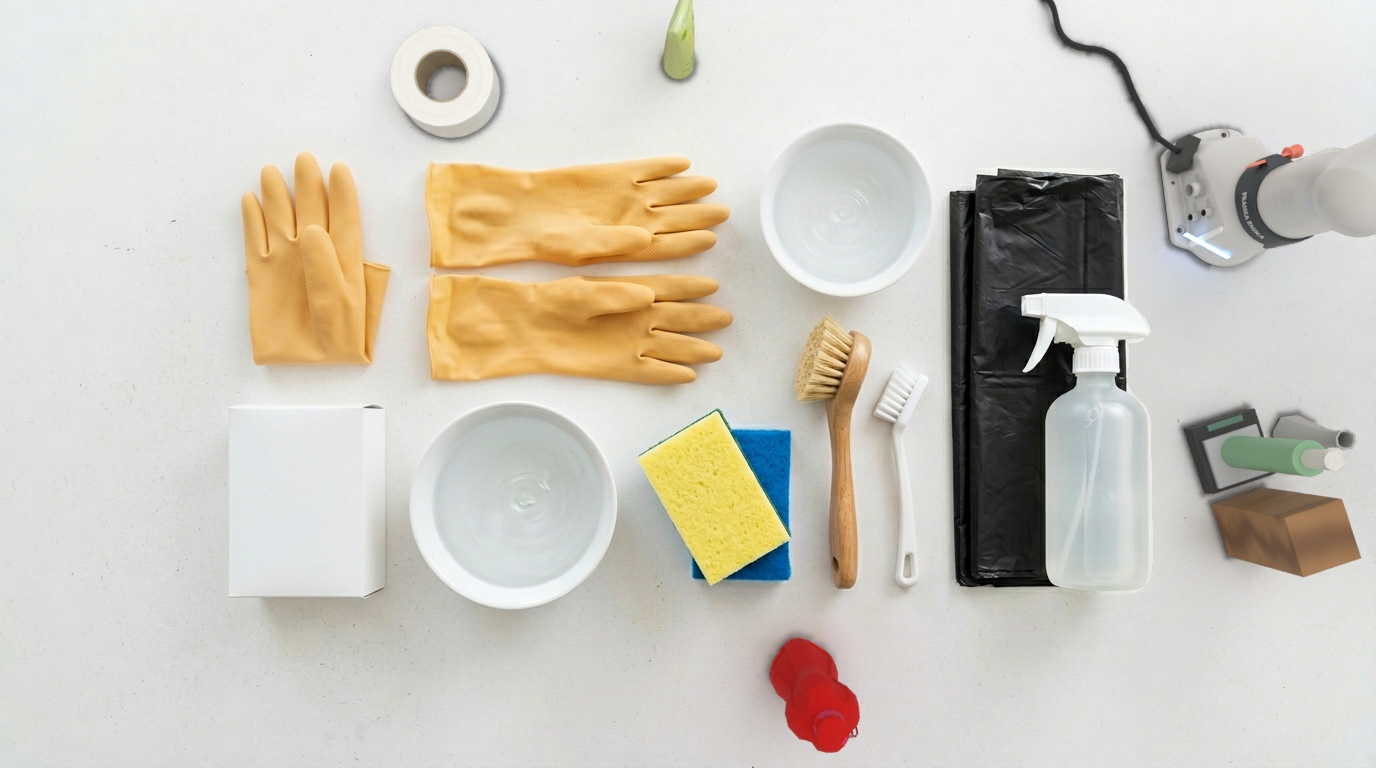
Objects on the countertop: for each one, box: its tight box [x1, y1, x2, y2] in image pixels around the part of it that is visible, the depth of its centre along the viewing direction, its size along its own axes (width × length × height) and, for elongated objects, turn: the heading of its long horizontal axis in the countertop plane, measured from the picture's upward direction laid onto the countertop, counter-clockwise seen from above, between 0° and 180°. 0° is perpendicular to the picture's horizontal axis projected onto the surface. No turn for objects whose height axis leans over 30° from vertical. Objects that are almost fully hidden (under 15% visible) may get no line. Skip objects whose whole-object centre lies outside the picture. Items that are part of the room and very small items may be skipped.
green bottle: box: [1221, 436, 1345, 478], centre depth 114 cm, size 5×5×18 cm
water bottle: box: [769, 637, 861, 754], centre depth 111 cm, size 9×11×25 cm
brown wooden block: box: [1210, 486, 1362, 578], centre depth 118 cm, size 9×9×15 cm
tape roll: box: [389, 24, 501, 139], centre depth 121 cm, size 16×16×6 cm
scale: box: [1183, 408, 1277, 495], centre depth 124 cm, size 11×11×3 cm
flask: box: [1272, 414, 1357, 451], centre depth 121 cm, size 7×7×10 cm
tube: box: [662, 0, 695, 80], centre depth 115 cm, size 6×5×20 cm
